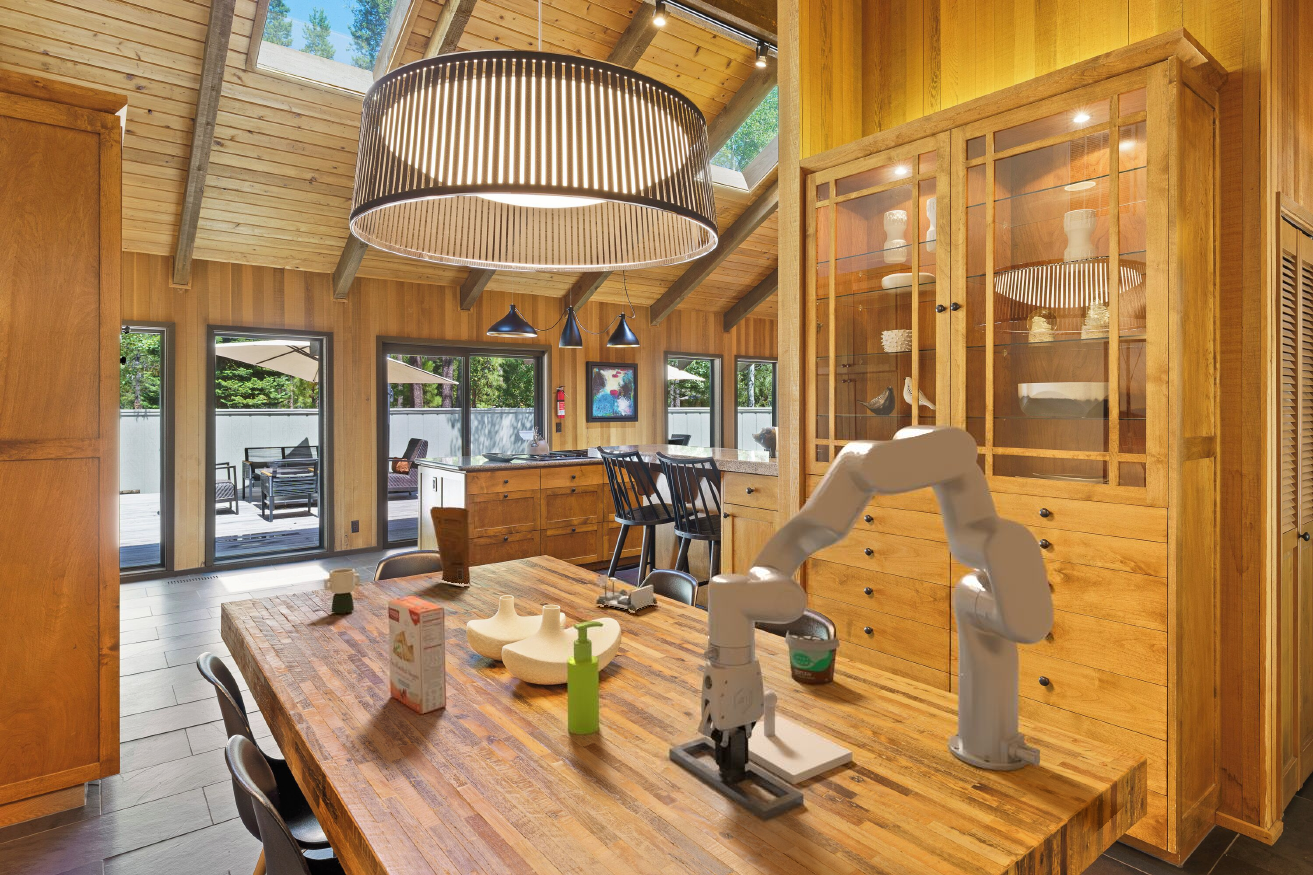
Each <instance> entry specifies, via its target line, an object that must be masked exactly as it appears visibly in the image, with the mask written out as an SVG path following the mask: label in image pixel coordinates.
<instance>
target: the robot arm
mask: <svg viewBox="0 0 1313 875" xmlns="http://www.w3.org/2000/svg"><path fill="white" fill-rule="evenodd" d="M978 455H979V448H978V445H977V442H976V440H975V438H974V437H973V436H972V434H970V433H969V432H968V431H967V430H965V429H963V428H960V427H957V426H952V425H951V426H950V425H927V424H916V425H915V424H914V425H909V426H905V427H903V428H901V429H899V430H898V431H897V432H896V433H895V434H894V436H893V438H892V439H891V440H874V439H873V440H872V439H857V440H854V441H851V442H849V443H847V444H846V445H844V446H843V447H842V449H841V450H840V451H839V452H838V454H837V455H836V457H835V458H834V460H832V463H831V464H830V466H829V467H828V469H827V470H826V472H825V473H824V475H823V477H822V478H821V480H820V481H819V483H818V484H817V486H816V487H815V489H814V490H813V492H812V493H811V494H810V496H809V497H808V499H807V500H806V502H805V504H804V505H803V506H802V507H801V509H800V510H799V511H798V512H797V513H795V515H793V516H792V517H791V518H789V520H788V521H787V522H786V523H784V524H783V525H782V527H780V528H779V529H778V530H777V531H776V532H775V533H774V534H772V536H771V537H770V538H768V540H767V541H766V542H765V544H764V545H763V547H762V548H761V549H760V551H759V553H757V555H756V557H755V558H754V560H753V562H752V563H751V564H750V566H749V567H748V569H747V572H746V573H745V575H744V574H740V573H722V574H717V575H714V576H713V577H711V578H710V579H709V581H708V585H707V616H708V617H707V622H708V623H707V625H708V626H707V631H708V632H707V633H708V634H707V639H708V641H707V650H705V651H704V652H703V656H704V659H705V660H707V661H706V662H705V666H704V671H703V676H702V687H701V697H700V700H701V702H700V704H701V705H700V709H701V710H700V711H701V719H700V723H699V725H698V728H697V732H698V733H700V735H701V734H702V735H703V736H704V737H707V738H708V737H709V739H710V740H712V741H714V742H715V757H714V758H715V760H714V761H715V765H717V766H718V767H719V766H720V767H721V768H723V769H725V770H726V771H729V770H730V769H731V746H729V745H728V737H729V730H730V729H733V728H736V727H737V728H739V729H741V730H743V731H745V764H747V763H748V762H749V758H748V739H750V738H751V736H752V730H753V728H754V726H755V725H756V723H757V722H758V721H759V720H760V719H761V718H762V717H764V692H765V690H764V682H763V681H764V680H763V674H762V669H761V664H760V660H759V658H758V657H757V656H755V655H756V649H755V648H756V646H755V644H756V641H755V639H756V638H755V637H756V636H755V634H756V633H755V632H756V628H755V627H756V622H757V623H765V624H766V623H767V624H775V625H776V624H777V625H783V624H790V623H794V622H795V621H797V620H799V619H800V618H801V617H803V615H804V613H805V612H806V609H807V606H808V599H807V594H806V592H805V589H804V588H803V587H802V585H801V584H800V583H799V582H797V581H796V580H795V579H793V576H794V575H795V573H796V572H797V571H798V569H799V567H800V566H801V565H802V564H803V563H804V562H805V561H806V560H807V559H809V558H810V557H811V556H812V555H814V554H815V553H816V552H819V551H820V550H822V549H825V548H828V547H831V546H834V545H836V544H838V543H840V542H842V541H844V540H845V539H846V538H847V537H848V535H850V533H851V531H852V529H853V527H854V526H856V523H857V521H858V520H859V519H860V517H861V516H862V514H863V513H864V512H865V510H866V508H867V506H868V505H869V504H870V502H871V500H872V499H873V498H874V497H875V495H881V496H892V495H900V494H905V493H909V492H914V491H919V490H923V489H926V488H930V487H931V489H932V490H933V492H934V494H935V497H936V499H937V504H938V506H939V510H940V515H941V519H942V523H943V528H944V532H945V537H946V540H947V541H946V542H947V544H948V549H949V552H950V554H951V556H952V558H953V559H954V560H955V561H956V562H957V563H958V564H960V565H962V566H963V567H966V568H969V569H971V570H974V571H971V572H969V573H967V574H965V575H963V576H962V577H961V578H960V579H959V580H958V581H957V583H956V584H955V586H954V589H953V595H952V605H953V614H954V617H955V622H956V630H957V639H958V641H957V642H958V643H957V644H958V664H957V665H958V666H957V667H958V669H957V670H958V671H957V672H958V674H957V675H958V676H957V677H958V682H957V683H958V687H957V688H958V690H957V693H958V694H957V696H958V697H957V698H958V700H957V701H958V702H957V703H958V706H957V707H958V708H957V709H958V710H957V712H958V713H957V718H958V719H957V733H955V734H953V735H951V737H949V739H948V746H947V747H948V749H949V752H950V753H952V755H954V757H956V758H957V759H959V760H961V761H962V762H965V763H967V764H969V765H972V766H976V767H978V768H982V769H986V770H992V771H993V770H994V771H1014V770H1015V771H1016V770H1019V769H1021V768H1024V767H1025V766H1027V764H1029V765H1032V766H1034V767H1038V766H1039V765H1040V762H1041V750H1040V749H1039V748H1037V747H1034V746H1030V745H1028V744H1027V743H1026V742H1025V741H1026V740H1025V733H1022V732H1019V701H1020V700H1019V693H1020V692H1019V690H1020V687H1019V686H1020V685H1019V684H1020V682H1019V681H1020V680H1019V679H1020V676H1019V675H1020V674H1019V672H1020V658H1019V650H1018V648H1019V647H1018V644H1019V645H1027V646H1028V645H1029V646H1030V645H1034V644H1035V645H1036V644H1038V643H1040V642H1042V641H1044V639H1045V638H1046V637H1047V636H1048V635H1049V634H1050V632H1051V630H1052V628H1053V623H1054V620H1055V619H1054V618H1055V617H1054V616H1055V611H1054V610H1055V609H1054V604H1053V598H1052V597H1053V596H1052V592H1051V587H1050V583H1049V578H1048V575H1047V570H1046V567H1045V566H1046V565H1045V561H1044V557H1043V556H1044V555H1043V553H1042V549H1041V546H1040V543H1039V541H1038V540H1037V538H1036V537H1035V535H1034V534H1033V532H1032V531H1030V529H1029V528H1027V527H1026V526H1025V525H1023V524H1022V523H1020V522H1017V521H1015V520H1012V519H1007V518H1003V517H1002V518H1001V517H1000V516H999V514H998V512H997V510H996V507H995V502H994V500H993V497H992V493H991V490H990V487H989V483H988V480H987V477H986V476H985V474H984V471H983V470H982V468H981V467H980V465H979V464H978V463H977V460H978ZM720 731H721V735H720Z"/></svg>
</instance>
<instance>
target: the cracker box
mask: <svg viewBox="0 0 1313 875" xmlns="http://www.w3.org/2000/svg"><path fill="white" fill-rule="evenodd" d="M387 606H388V607H387V608H388V611H387V612H388V614H387V615H388V644H389V645H388V646H389V648H388V650H389V651H388V652H389V679H390V680H389V684H390V689H389V690H390V696H391V697H392V696H393V697H392V698H394V699H396V700H397V699H398V701H399V702H400V701H401V704H403V705H404V706H405V705H406V706H407V707H408V706H409V707H408V708H410V709H412V710H413V711H415V712H417V713H418V714H420V715H421V714H422V715H425V714H428V713H430V712H434V711H437V710H440V709H442V708H446V707H447V688H446V687H447V686H446V684H447V682H446V678H447V676H446V638H445V637H446V636H445V633H446V632H445V631H446V630H445V629H446V628H445V626H446V624H445V607H443V606H440V605H438V604H434V603H432V602H429V601H427V600H424V599H422V598H419V597H416V596H414V595H408V596H404V597H399V598H393V599H391V600H388V601H387ZM424 713H425V714H424Z"/></svg>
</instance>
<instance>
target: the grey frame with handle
mask: <svg viewBox="0 0 1313 875" xmlns="http://www.w3.org/2000/svg"><path fill="white" fill-rule="evenodd" d="M720 735H721V731H720ZM728 745H729V746H731V769H730V770H729V771H726V770H725V769H723V768H721V767H720V766H718V769H716V770H714V769H712V768H710V767H709V766H708V765H706V764H704V763H703V762H701V761H700V760H698V758H695V757H693V756H692V755H695V754H699V753H701V752H704V751H705V752H706V753H708V755H710V756H713V757H714V758H715V742H714V741H713V740H712V739H711V738H708V736H703V737H700V738H697V739H695V740H691V741H689V742H686V743H685V742H684V743H683V744H679V745H677V746H673V747H670V748H669V749H668V752H669V758H670V759H672V760H673V761H674V762H676V763H677V764H679V765H680V766H682V767H683V768H685V769H686V770H687V771H689V772H690V773H691V774H693V775H695V776H697V777H698V778H700V780H702V781H704V782H705V783H707V784H709V785H710V786H712V787H713V788H714V789H716V790H717V791H719V792H720V793H722V794H724V795H725V796H726V797H728V798H729V799H730V800H732V801H733V802H735V803H736V804H738V805H740V806H741V807H742V808H744V809H746V810H747V811H748V812H750V813H751V814H753V815H754V816H756V817H757V818H759V819H760V820H762V821H763V822H767V821H770V820H772V819H774V818H776V817H778V816H780V815H783V814H785V813H787V812H789V811H791V810H795V809H797V808H798V807H800V806H803V805H804V803H805V802H804V798H805V795H804V793H801V792H800V791H798V790H796V789H794V788H793V787H791V786H790V785H788V784H786V783H784V781H781V780H779V779H778V778H776V777H775V776H773V775H771V774H770V773H768V772H766V771H764V770H763V769H761V768H759V767H758V766H756V765H754V764H752V763H751V762H750V761H748V763H747V764H745V731H743V730H741V729H739V728H737V727H736V728H733V729H730V730H729V737H728ZM749 779H750V780H751V781H753V782H755V783H756V784H758V785H760V786H761V787H763V788H764V789H766V790H768V791H769V792H770V793H772V794H774V795H776V796H777V798H775V799H772V800H771V801H768V802H763V801H762V800H760V799H759V798H758V797H756V796H754V795H752V794H751V793H750V792H748V791H747V790H745V789H743V788H742V787H740V786H739V785H737V784H739V783H742V782H744V781H748V780H749Z"/></svg>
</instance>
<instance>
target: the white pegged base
mask: <svg viewBox="0 0 1313 875" xmlns="http://www.w3.org/2000/svg"><path fill="white" fill-rule="evenodd" d="M777 703H778V695H777V694H775V692H773V691H772V690H766V691H764V715H763V720H762V721H759V722H758V721H757V722H756V725H755V726H754V728H753V730H752V736H751V738H750V739H748V760H751V761H753V763H754V762H755V763H757V764H758V765H760V766H761V767H763V768H765V769H766V770H768V771H770V772H771V773H773V774H775V775H776V776H778V777H780V778H782V779H784V780H786V781H787V782H789V783H791V784H792V785H796V784H799V783H801V782H804V781H806V780H808V779H811V778H813V777H816V776H818V775H820V774H822V773H826V772H827V771H830V770H832V769H835V768H838V767H840V766H842V765H844V764H847V763H849V762H851V761H852V762H853V751H852V750H849V749H848V748H846V747H843V746H841V745H840V744H837V743H835V742H833V741H831V740H829V739H828V738H824V737H822V736H821V735H819V734H816V733H815V732H812V731H811V730H808V729H806V728H804V727H802V726H800V725H798V724H796V723H794V722H792V721H791V720H788V719H786V718H783V717H782V716H780V715H776V705H777Z"/></svg>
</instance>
